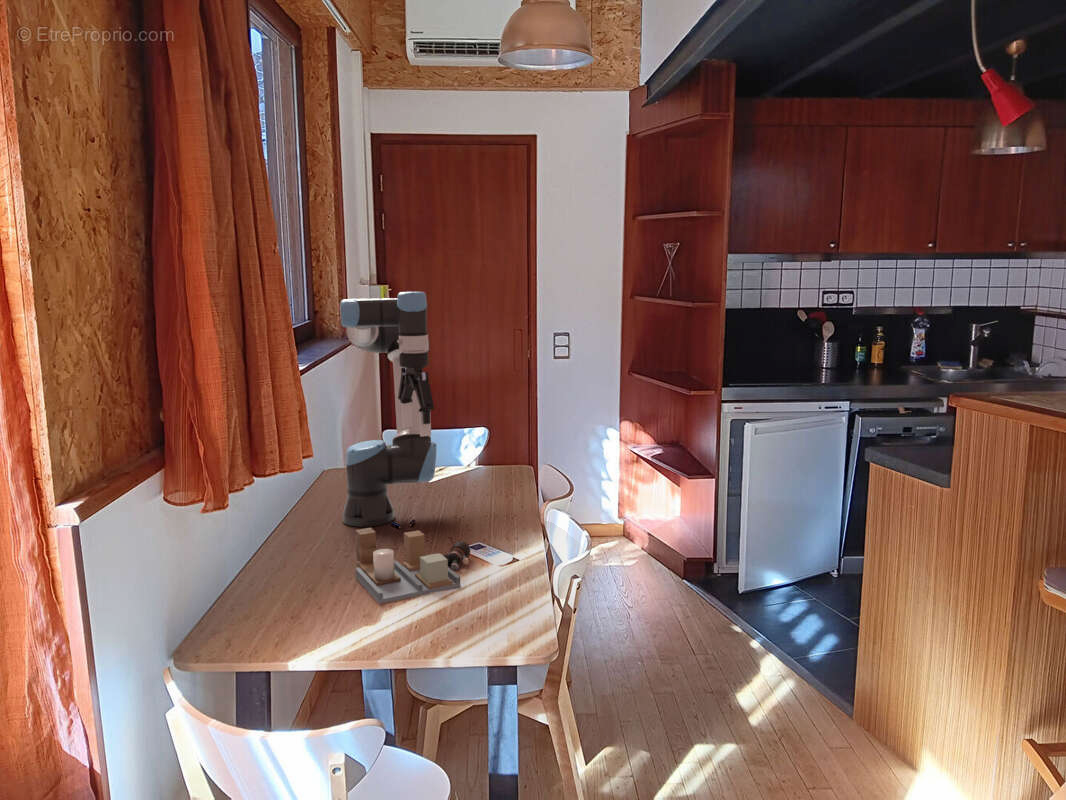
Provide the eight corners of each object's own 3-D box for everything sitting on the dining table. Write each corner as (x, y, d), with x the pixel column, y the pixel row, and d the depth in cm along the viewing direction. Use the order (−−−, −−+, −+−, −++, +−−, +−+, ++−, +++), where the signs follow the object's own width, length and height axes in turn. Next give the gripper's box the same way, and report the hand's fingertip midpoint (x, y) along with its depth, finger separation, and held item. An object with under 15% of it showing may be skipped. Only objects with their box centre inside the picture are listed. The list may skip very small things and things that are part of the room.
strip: (353, 561, 213) (351, 530, 212) (375, 556, 216) (374, 527, 215) (376, 586, 197) (374, 553, 195) (400, 581, 199) (399, 549, 198)
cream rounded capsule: (371, 574, 201) (370, 551, 200) (390, 571, 204) (389, 547, 203) (377, 581, 197) (376, 557, 196) (397, 577, 199) (396, 553, 198)
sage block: (420, 576, 200) (419, 556, 199) (440, 572, 202) (439, 553, 202) (428, 583, 196) (427, 563, 195) (448, 579, 198) (447, 559, 197)
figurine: (464, 577, 209) (480, 556, 218) (461, 559, 207) (478, 539, 216) (434, 573, 212) (451, 552, 220) (431, 555, 210) (449, 536, 219)
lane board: (354, 576, 205) (352, 541, 204) (431, 562, 215) (429, 528, 213) (378, 603, 189) (377, 565, 187) (460, 586, 198) (459, 550, 197)
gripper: (384, 348, 227) (387, 424, 231) (417, 357, 206) (419, 441, 209) (410, 346, 231) (413, 422, 234) (445, 355, 209) (447, 438, 213)
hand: (416, 431), depth 222 cm, fingers open, 13 cm apart
